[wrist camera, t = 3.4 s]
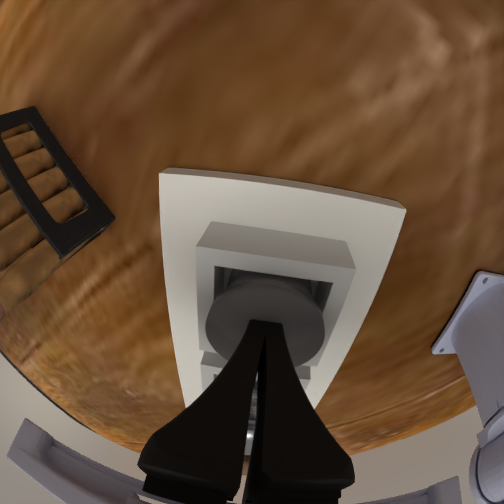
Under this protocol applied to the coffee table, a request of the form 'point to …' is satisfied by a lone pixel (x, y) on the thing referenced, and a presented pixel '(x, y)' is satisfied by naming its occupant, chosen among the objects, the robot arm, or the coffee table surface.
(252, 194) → the mount board
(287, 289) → the knob graphite
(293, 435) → the robot arm
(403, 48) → the coffee table surface
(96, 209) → the ammunition clip
